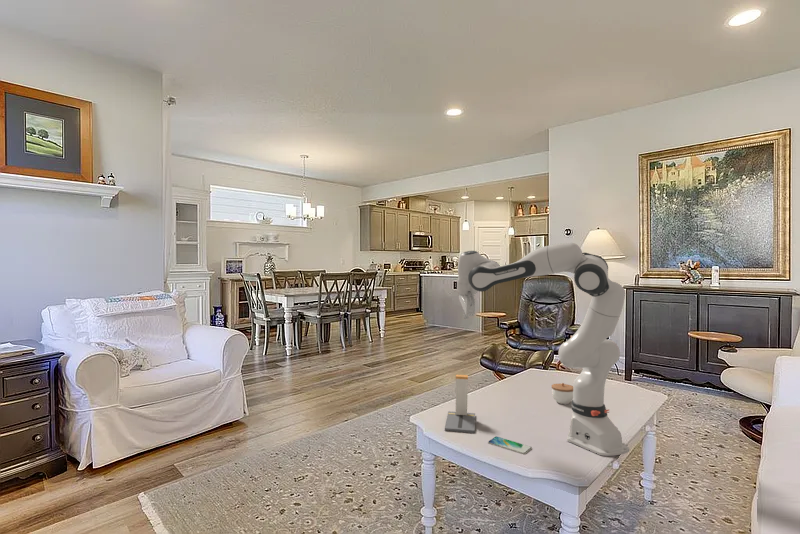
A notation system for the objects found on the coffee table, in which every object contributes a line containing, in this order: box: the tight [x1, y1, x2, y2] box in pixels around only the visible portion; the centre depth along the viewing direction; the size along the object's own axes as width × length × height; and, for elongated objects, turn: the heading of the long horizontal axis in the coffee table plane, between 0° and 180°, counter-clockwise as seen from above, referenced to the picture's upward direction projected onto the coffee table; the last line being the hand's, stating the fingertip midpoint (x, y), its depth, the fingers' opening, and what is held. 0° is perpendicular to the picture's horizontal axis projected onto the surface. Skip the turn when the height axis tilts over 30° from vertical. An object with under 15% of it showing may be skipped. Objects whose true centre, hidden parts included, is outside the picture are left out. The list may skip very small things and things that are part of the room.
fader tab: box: [455, 374, 469, 416], centre depth 191 cm, size 3×5×17 cm, turn 79°
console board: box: [444, 410, 476, 434], centre depth 184 cm, size 20×12×1 cm, turn 169°
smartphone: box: [487, 435, 533, 455], centre depth 162 cm, size 7×1×15 cm
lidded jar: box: [551, 382, 573, 405], centre depth 213 cm, size 11×11×9 cm
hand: (465, 317), depth 189 cm, fingers closed
